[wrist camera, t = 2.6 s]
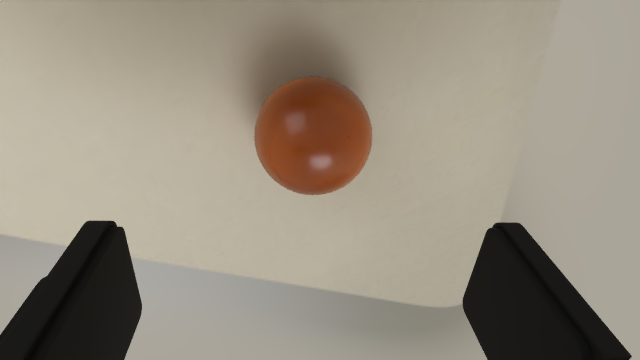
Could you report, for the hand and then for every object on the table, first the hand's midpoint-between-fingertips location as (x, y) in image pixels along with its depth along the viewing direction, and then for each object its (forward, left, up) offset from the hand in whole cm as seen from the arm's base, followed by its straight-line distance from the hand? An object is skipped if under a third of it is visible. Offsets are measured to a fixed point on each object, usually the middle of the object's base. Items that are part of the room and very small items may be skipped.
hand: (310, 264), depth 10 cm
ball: (0, 0, -10) cm, 10 cm away
